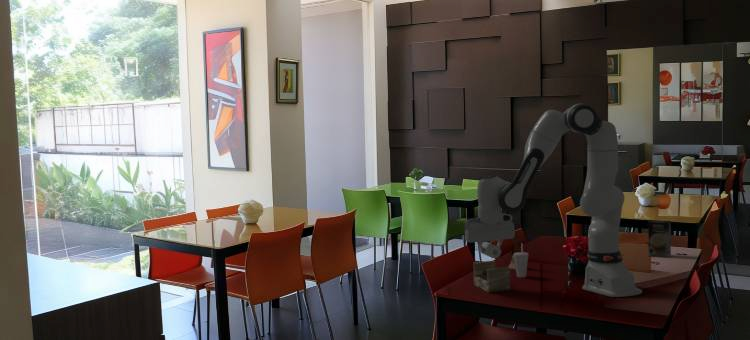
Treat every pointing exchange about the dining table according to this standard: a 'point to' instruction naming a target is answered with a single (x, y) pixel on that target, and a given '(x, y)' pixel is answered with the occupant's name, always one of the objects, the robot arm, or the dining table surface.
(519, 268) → the smoothie
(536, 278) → the dining table surface
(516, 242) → the hand bell
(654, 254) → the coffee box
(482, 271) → the holder
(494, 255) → the roll
